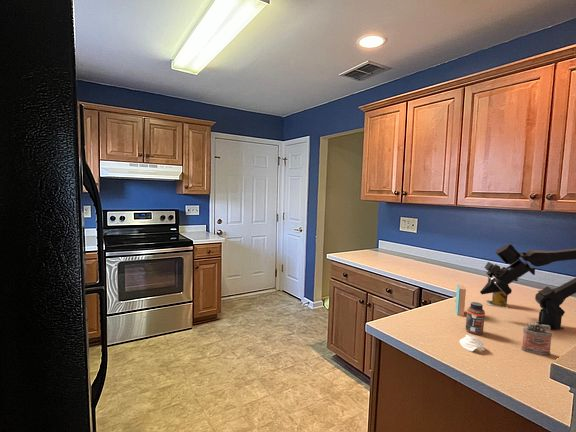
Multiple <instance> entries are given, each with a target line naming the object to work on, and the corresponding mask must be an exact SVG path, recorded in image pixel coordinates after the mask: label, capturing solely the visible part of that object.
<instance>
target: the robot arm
mask: <svg viewBox="0 0 576 432" xmlns="http://www.w3.org/2000/svg"><path fill="white" fill-rule="evenodd" d="M495 254H496V255H497V257H499V258H500V260H501V261H502V262H503V263H504V264H505V265H506V264H509V265H508V266H507V267H505V266H502V267H501V266H500V265H498V264H494V263H492V262H490V261H487V263H486V264H485V265H484V269H485V270H486V271H487V272H486V275H487V282H486V283H485V285H484V286H483V288H482V289H481V290H480V291H479V294H481V295H486V294H487V295H488V294H493V293H495V292H502V291H501V290H503V291H504V293H505V294H506V295H508V296H509V295H511V294H512V292H513V291H512V290H513V289H512V288H511V287H510V285H509V284H512V283H513V282H518V281H519V278H521V277H523V276H525V275H526V274H527V273H530V274H531V275H533V276H535V275H536V267H542V266H543V267H544V266H546V265H550V264H552V263H555V262H562V261H564V262H565V261H570V260H571V261H572V260H576V247H575V248H568V249H567V248H566V249H557V250H542V249H540V250H539V249H530V250H528V251H526V252H518V251H517V249H516V248H515V247H514V246H513V244H512V243H507V244H506V245H504V246H501V247H499V248H497V250H496V251H495ZM522 260H523V261H522ZM531 265H532V266H531ZM575 294H576V277H574V278H573V279H571V280H569V281H567V282H565V283H563V284H561V285H559V286H558V287H555V288H552V287H550V286H545V287H544V288H543V289H541V290H540V289H539V290H537V293H535V297H534V299H535V302H536V303H537V304H539V307H540V311H539V313H538V321H536V322H535V323H538V324H539V325H541V324H542V325H548V326H550V330H551V331H554V330H556V331H557V330H563V329H564V327H563V326H561V325H562V318H563V317H564V315H565V312H566V311H565V310H564V309H563V308H562V307H561V305H562V304H563V303H564V302H565V301H566V299H567V298H569V297H571V296H573V295H575ZM550 330H549V331H550Z"/></svg>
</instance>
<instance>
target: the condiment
mask: <svg viewBox="0 0 576 432" xmlns="http://www.w3.org/2000/svg"><path fill="white" fill-rule="evenodd" d="M501 291H502V292H495V293H492V296H491V300H489V299H486V305H488V306H493V307H498V308H503V309H509V306H508V296H509V295H506V294H505V293H504V291H503V290H501Z"/></svg>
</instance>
